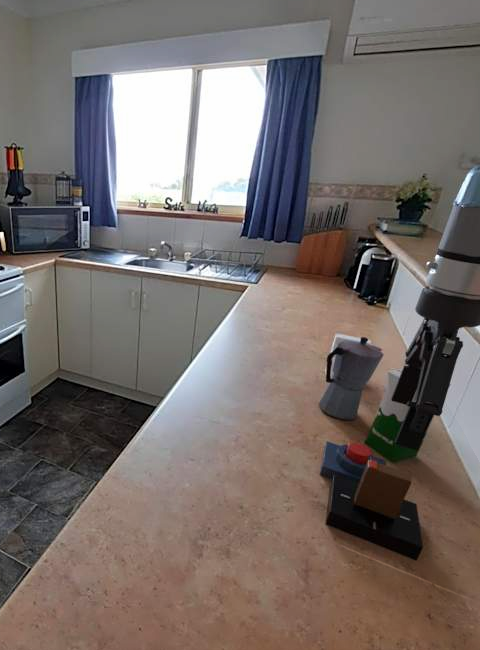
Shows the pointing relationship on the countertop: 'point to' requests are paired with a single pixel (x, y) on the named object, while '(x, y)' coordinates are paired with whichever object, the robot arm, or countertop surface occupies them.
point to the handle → (382, 489)
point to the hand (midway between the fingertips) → (402, 422)
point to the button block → (342, 463)
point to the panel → (374, 520)
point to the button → (358, 453)
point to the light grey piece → (337, 340)
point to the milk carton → (390, 424)
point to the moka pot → (349, 377)
